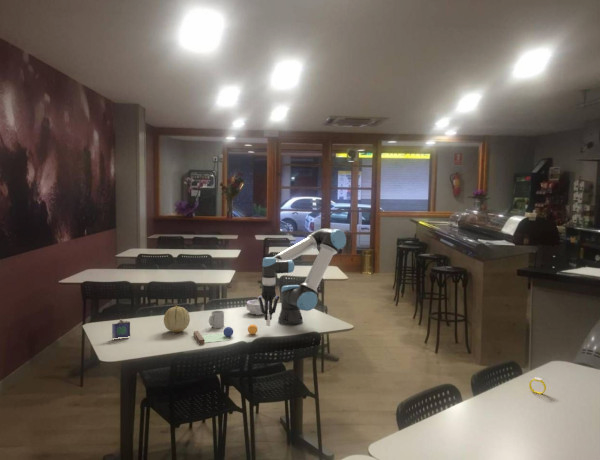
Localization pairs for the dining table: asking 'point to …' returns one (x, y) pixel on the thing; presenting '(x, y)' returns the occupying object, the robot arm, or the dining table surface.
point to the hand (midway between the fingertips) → (268, 325)
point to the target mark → (215, 338)
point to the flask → (121, 329)
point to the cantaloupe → (176, 319)
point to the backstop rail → (199, 337)
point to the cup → (217, 319)
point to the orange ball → (252, 329)
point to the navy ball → (228, 331)
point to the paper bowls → (255, 306)
